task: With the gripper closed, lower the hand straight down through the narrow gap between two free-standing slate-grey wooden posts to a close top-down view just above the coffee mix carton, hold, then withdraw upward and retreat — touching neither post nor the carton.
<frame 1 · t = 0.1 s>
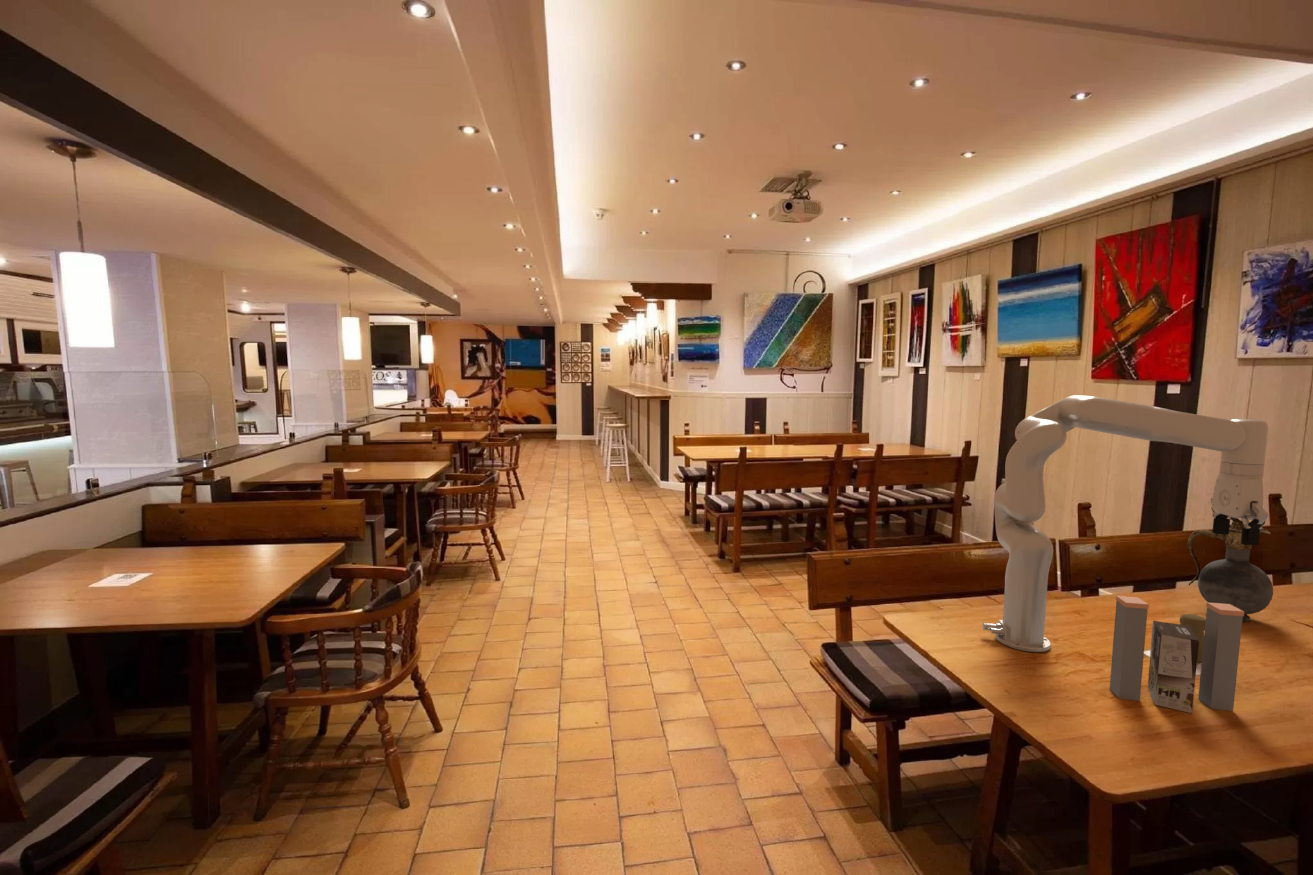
hand: (1234, 539, 143), 31 cm above the table, fingers open, 9 cm apart
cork: (1190, 658, 147), on the table
post near base: (1124, 694, 130), on the table
coffee box: (1169, 700, 128), on the table
post far: (1215, 704, 126), on the table
pitcher: (1223, 615, 174), on the table
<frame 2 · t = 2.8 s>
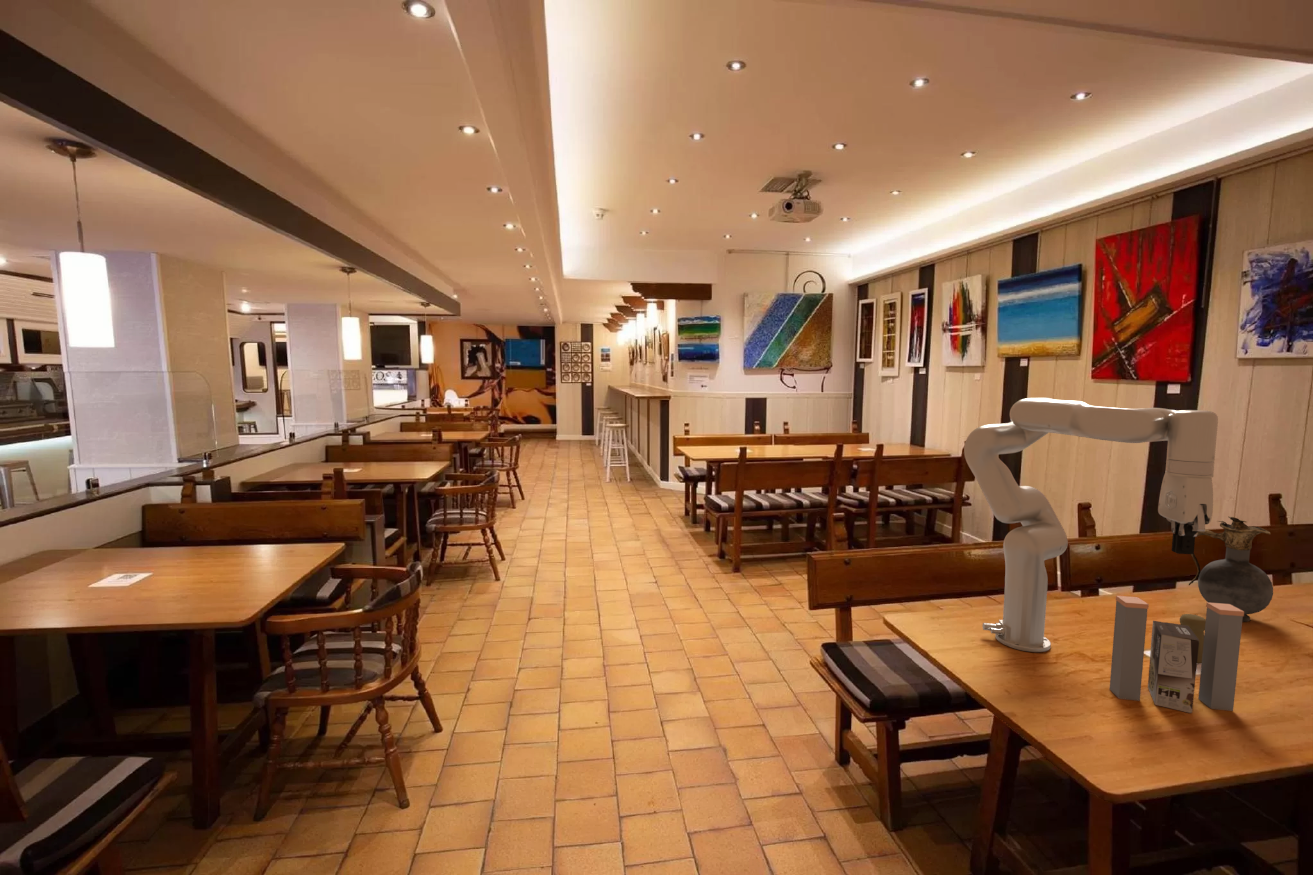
hand: (1182, 552, 125), 33 cm above the table, fingers closed
nothing on the table moved.
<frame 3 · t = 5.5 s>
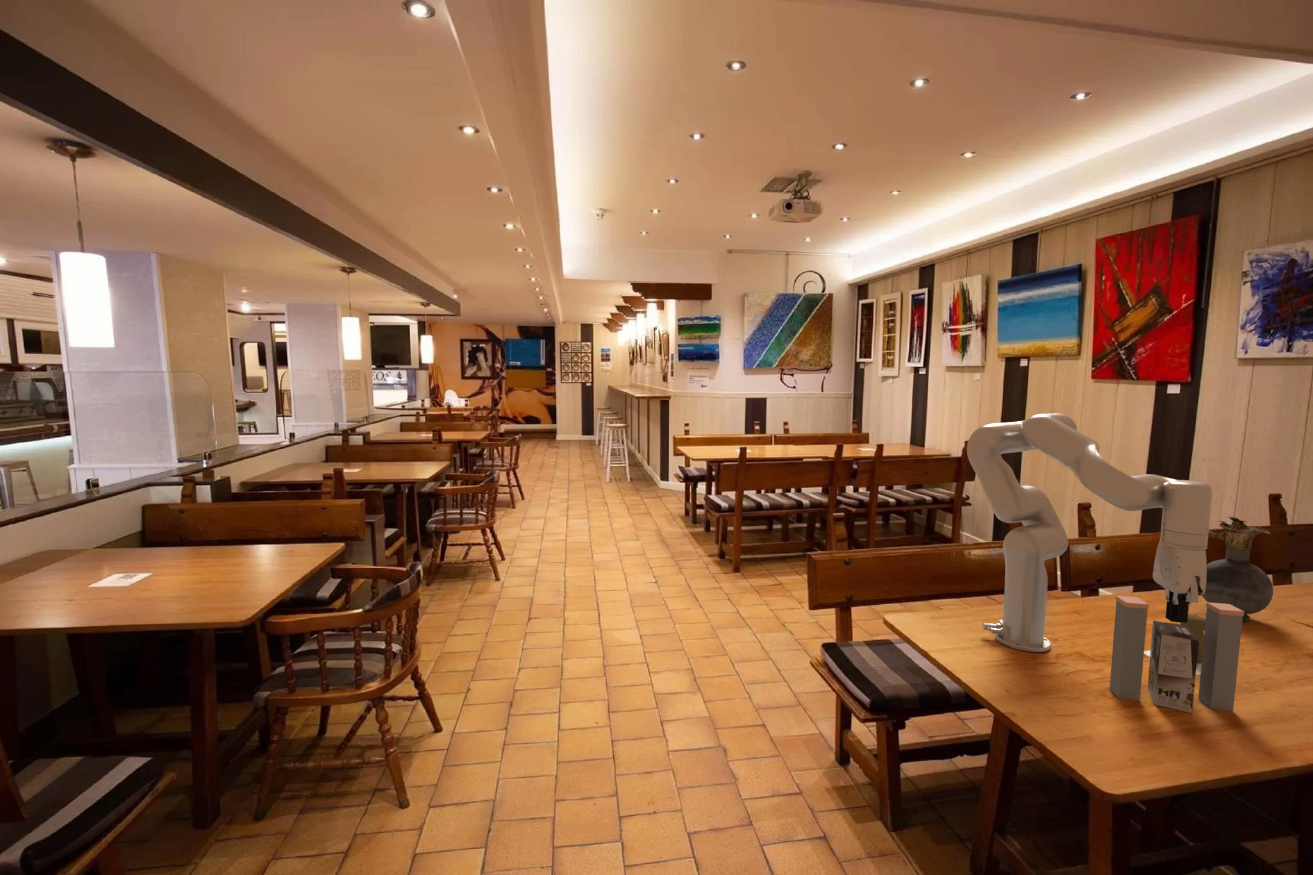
hand: (1176, 620, 126), 18 cm above the table, fingers closed
nothing on the table moved.
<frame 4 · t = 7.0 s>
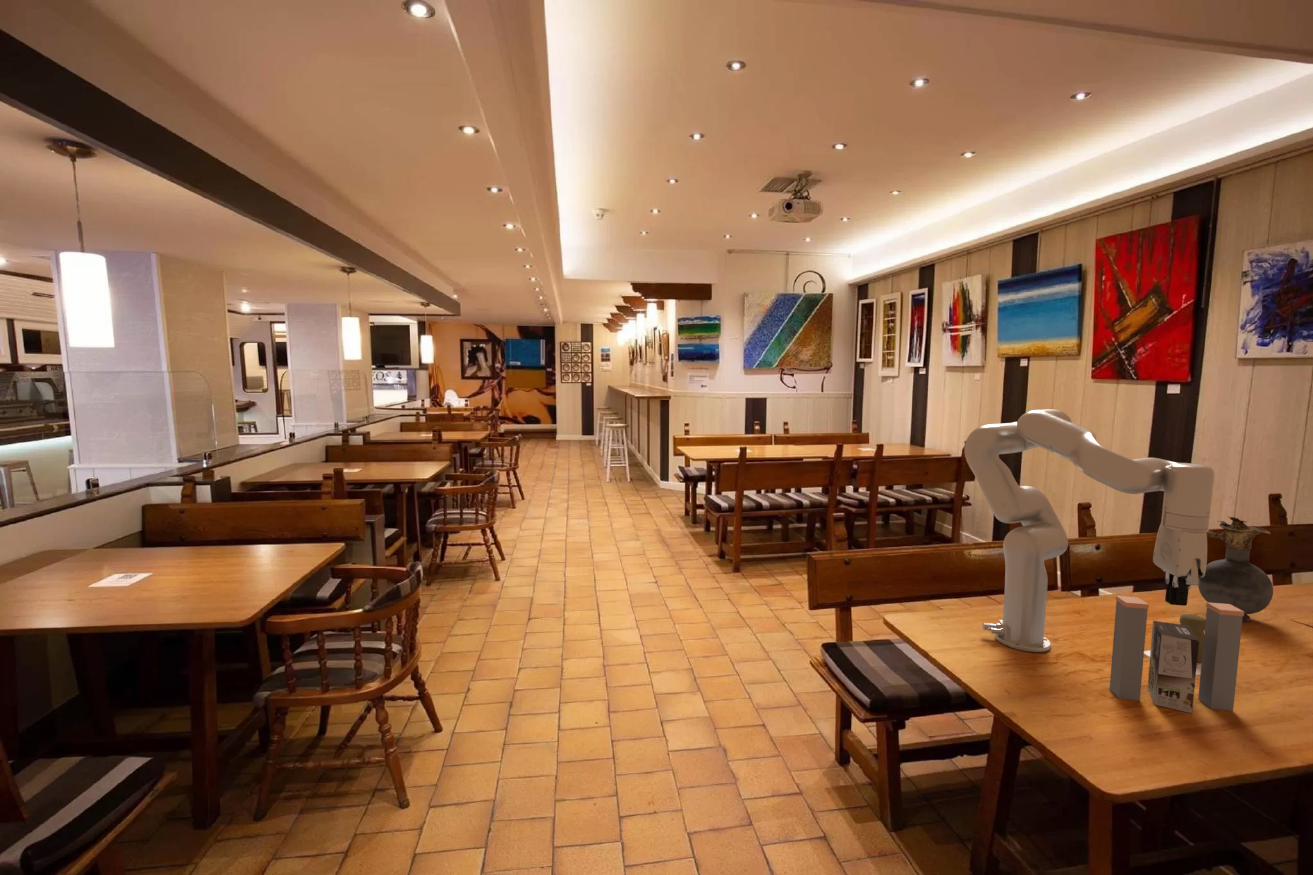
hand: (1175, 603, 126), 22 cm above the table, fingers closed
nothing on the table moved.
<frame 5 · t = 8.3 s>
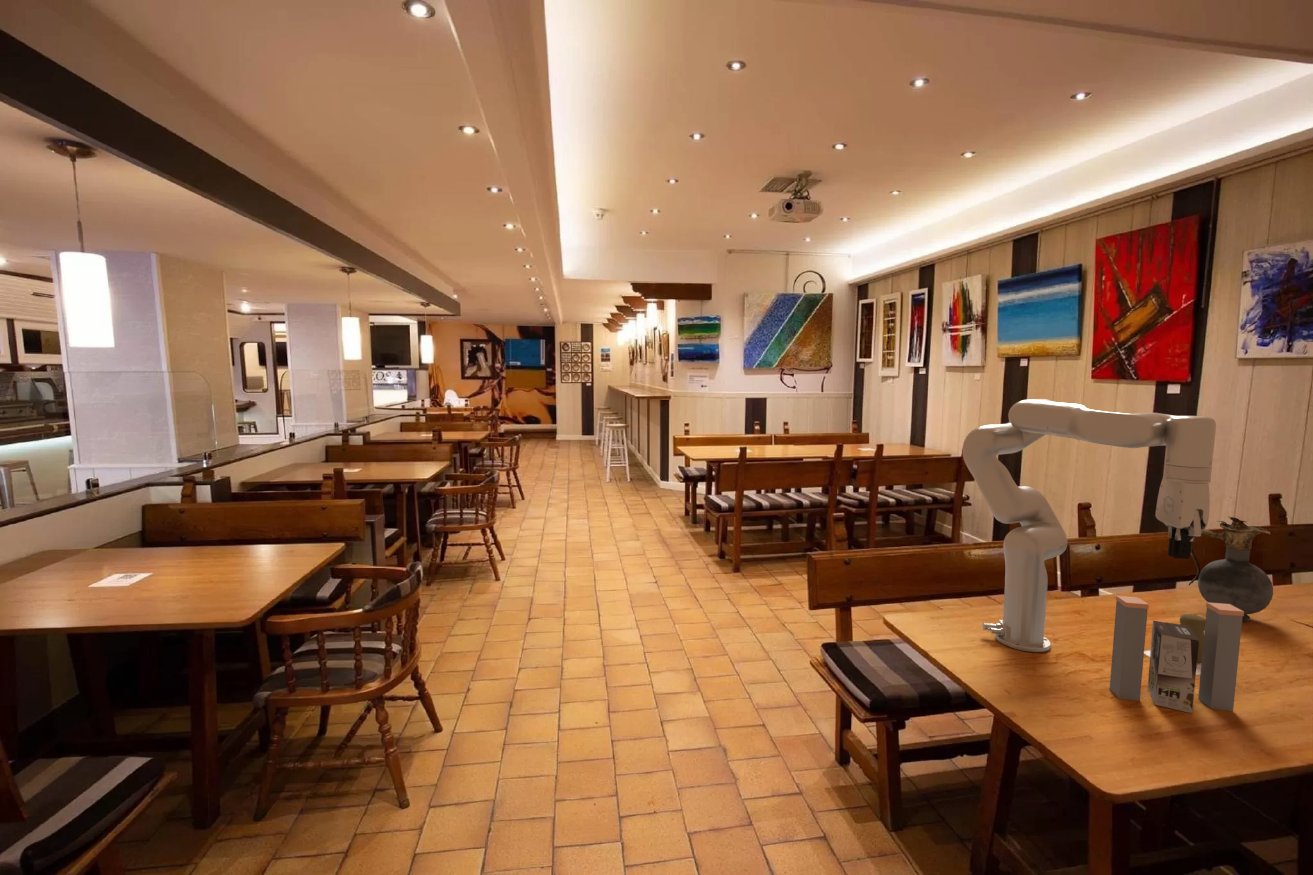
hand: (1178, 557, 126), 32 cm above the table, fingers closed
nothing on the table moved.
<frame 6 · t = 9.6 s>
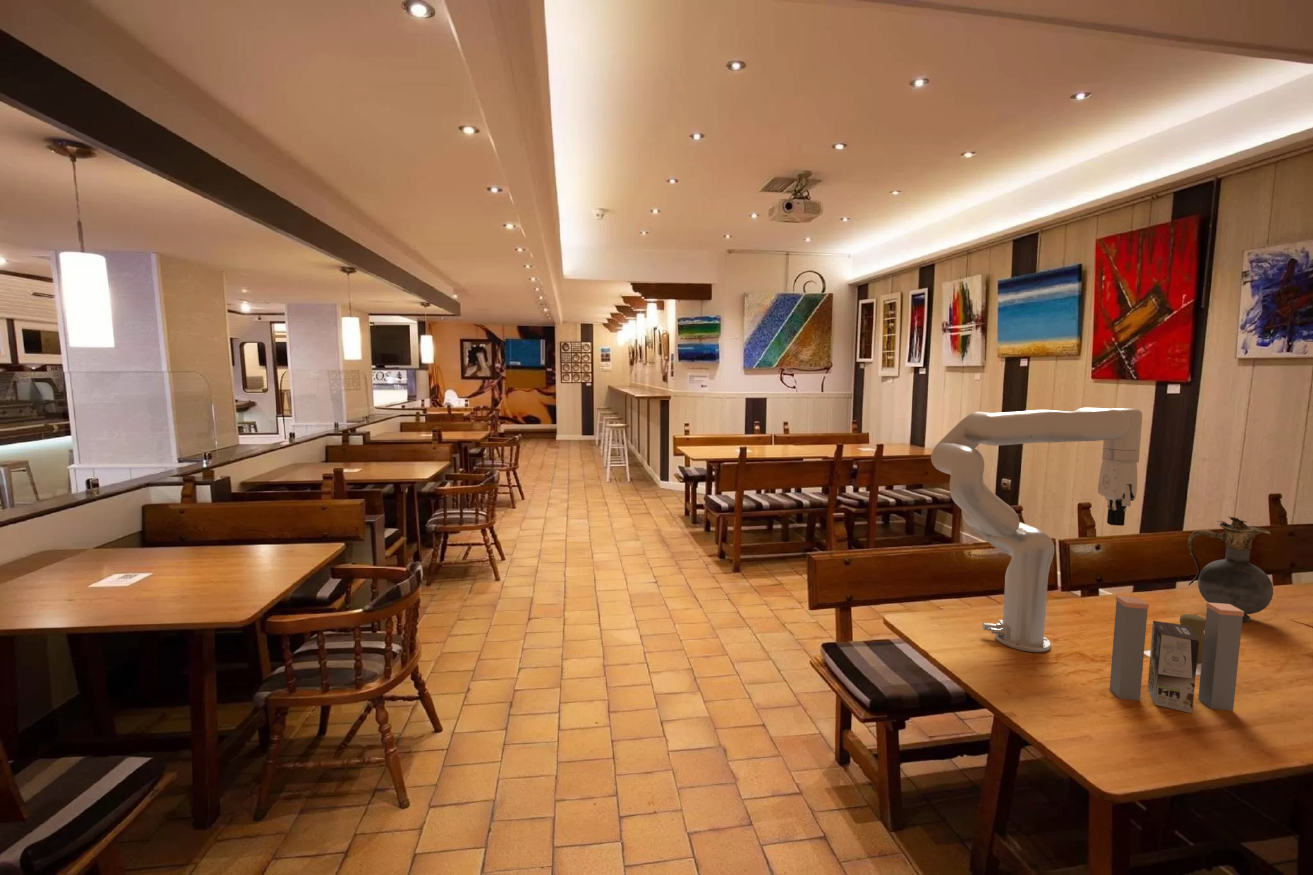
hand: (1115, 524, 153), 32 cm above the table, fingers closed
nothing on the table moved.
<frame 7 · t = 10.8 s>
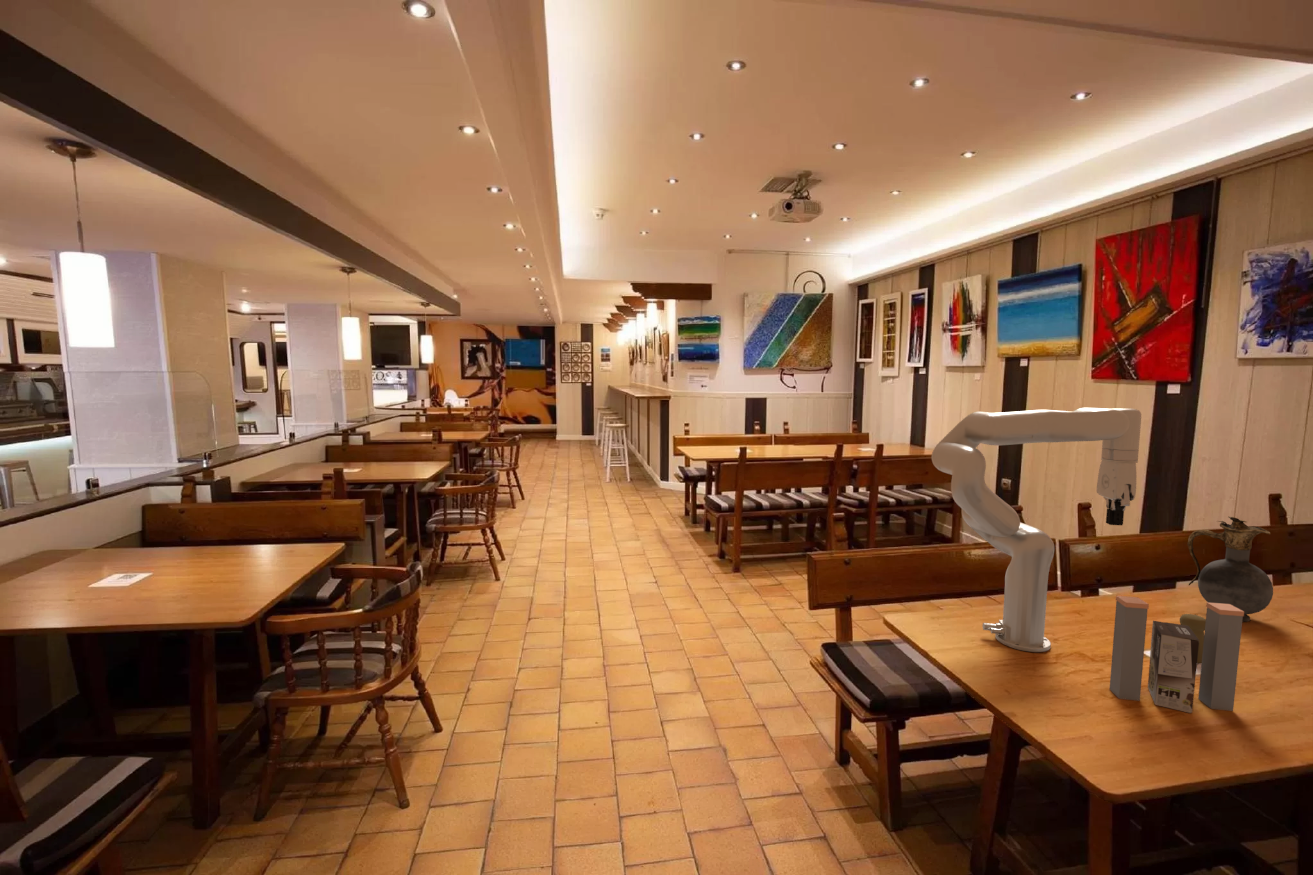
hand: (1114, 524, 154), 32 cm above the table, fingers closed
nothing on the table moved.
at the end: coffee box moved 0.2 cm from its start; post near base tilted 0°; post far tilted 0° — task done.
